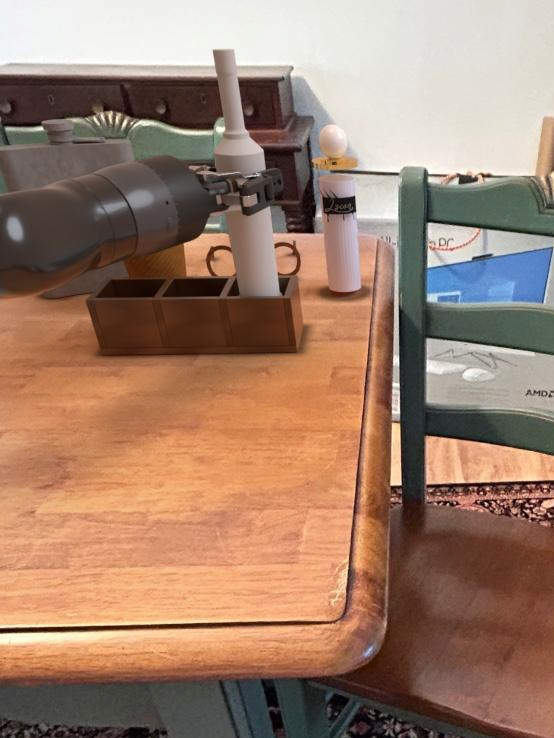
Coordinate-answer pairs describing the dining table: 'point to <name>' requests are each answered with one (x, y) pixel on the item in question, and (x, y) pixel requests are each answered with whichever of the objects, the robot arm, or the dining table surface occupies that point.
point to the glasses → (279, 244)
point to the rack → (193, 316)
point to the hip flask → (58, 163)
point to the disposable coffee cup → (158, 264)
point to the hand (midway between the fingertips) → (257, 176)
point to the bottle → (245, 156)
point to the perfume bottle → (338, 211)
